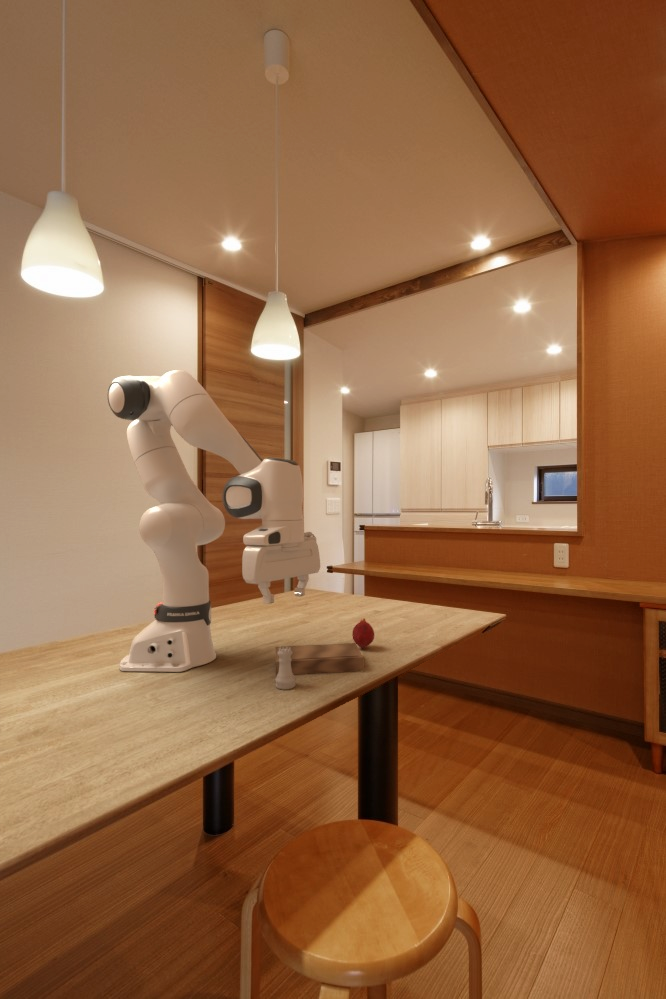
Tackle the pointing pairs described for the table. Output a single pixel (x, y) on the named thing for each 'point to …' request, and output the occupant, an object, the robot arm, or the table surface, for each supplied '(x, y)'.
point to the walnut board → (324, 658)
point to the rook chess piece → (285, 670)
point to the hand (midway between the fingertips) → (284, 599)
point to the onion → (363, 634)
